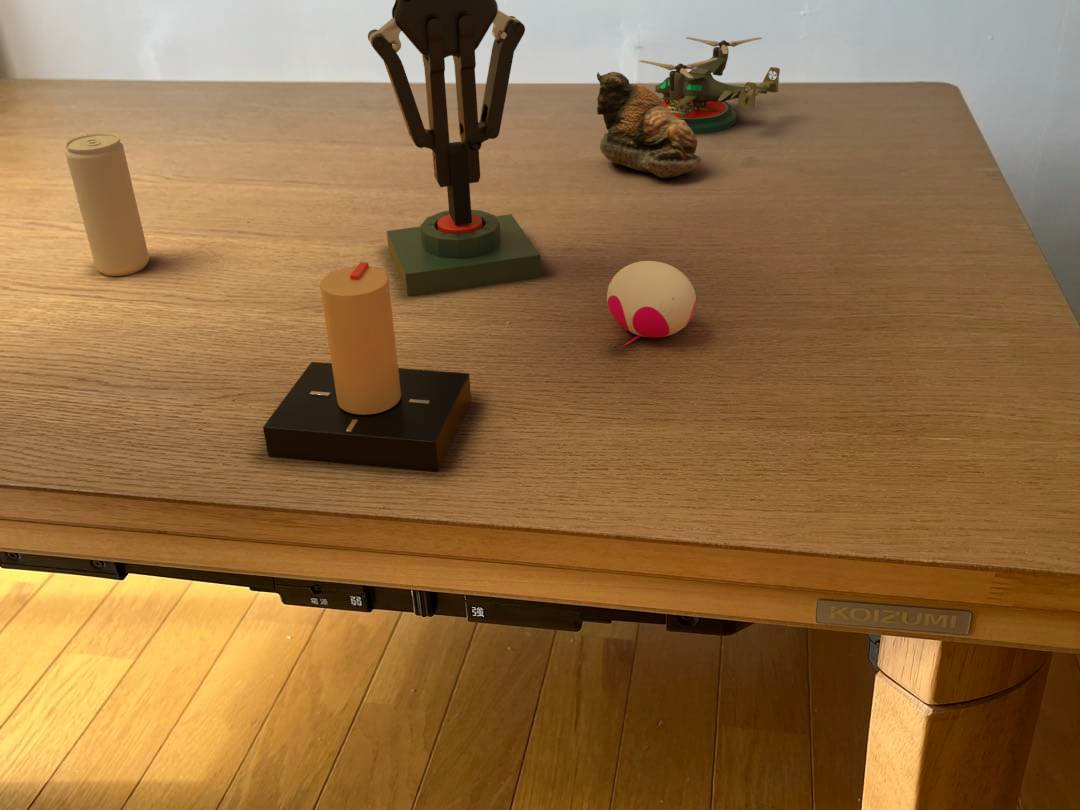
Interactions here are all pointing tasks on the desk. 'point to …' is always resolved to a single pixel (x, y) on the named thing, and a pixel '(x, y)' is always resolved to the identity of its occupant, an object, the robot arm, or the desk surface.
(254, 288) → the desk surface
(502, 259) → the button box
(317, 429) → the panel
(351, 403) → the knob
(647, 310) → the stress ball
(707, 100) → the toy helicopter
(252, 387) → the desk surface
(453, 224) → the button
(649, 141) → the bison figurine
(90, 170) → the beverage can
